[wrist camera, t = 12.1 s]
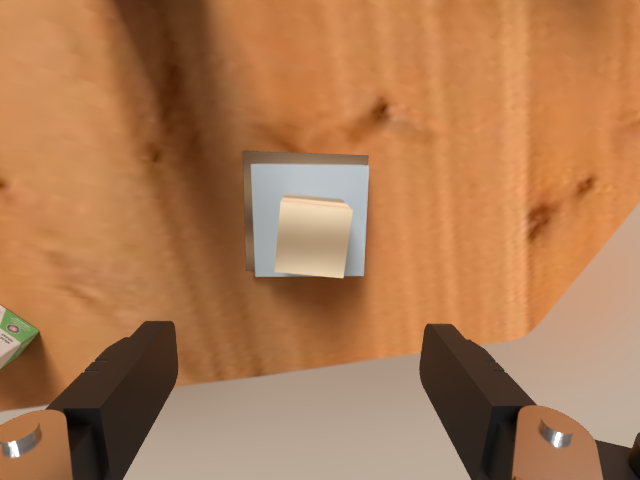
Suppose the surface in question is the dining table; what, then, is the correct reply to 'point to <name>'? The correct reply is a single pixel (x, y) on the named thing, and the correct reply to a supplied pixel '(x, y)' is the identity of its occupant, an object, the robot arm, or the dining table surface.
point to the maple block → (312, 235)
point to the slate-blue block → (312, 182)
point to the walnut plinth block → (281, 158)
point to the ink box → (13, 336)
